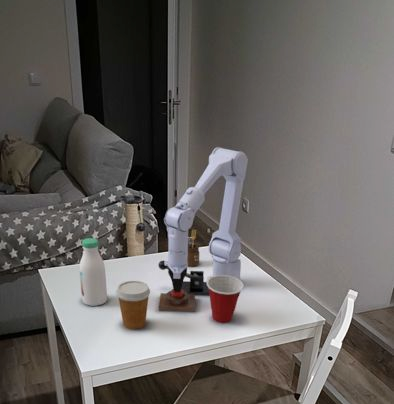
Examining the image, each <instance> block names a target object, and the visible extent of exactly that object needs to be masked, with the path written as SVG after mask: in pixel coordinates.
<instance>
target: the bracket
mask: <svg viewBox="0 0 394 404" xmlns="http://www.w3.org/2000/svg"><path fill="white" fill-rule="evenodd" d="M194 273H195V274H198V275H200V276H190V278H189V281H184V280H183V284H182V288H181V289H182V290H184V291H185V292H187V293H188V294H195V296H205V297H207V296H208V297H210V294H209V289H208V286H207V281H205V277H204V274H205V272H204V271H202V270H190V271H189V274H191V275H194Z"/></svg>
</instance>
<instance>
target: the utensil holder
mask: <svg viewBox="0 0 394 404" xmlns="http://www.w3.org/2000/svg"><path fill="white" fill-rule="evenodd" d="M190 236H191V237H190ZM190 236H188V239H190V240H188V257H187V262H188V266H187V267H197V266H198V265H199V263H200V251H199V250H200V248H199V245H198V244H196V243H194V242H195V239H196V238H197V237H196V236H197V230H196V229H192V230H191V235H190ZM191 241H192V242H191Z"/></svg>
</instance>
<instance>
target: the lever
mask: <svg viewBox="0 0 394 404" xmlns="http://www.w3.org/2000/svg"><path fill="white" fill-rule="evenodd" d="M165 261H166V260H160V261H159V262H158V265H157V266H158V268H159V270H162V271H165V270H168V269H169V267H168V266H165V265H164V262H165ZM190 276H200V275H198V274H195V273H194V275H191V274H190V273H188V272H187V274H186V276H185V278H188V279H190Z"/></svg>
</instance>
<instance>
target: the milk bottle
mask: <svg viewBox="0 0 394 404" xmlns="http://www.w3.org/2000/svg"><path fill="white" fill-rule="evenodd" d="M81 243H82V249H83V252H82V257H81V258H80V262H79V279H80V289H81V290H80V292H81V301H82V302H83V304H85V305H87V306H91V307H93V306H96V307H97V306H101V305H104V304H105V303H106V302H107V301H108V287H107V275H106V274H107V273H106V266H105V262H104V259H103V258H102V256H101V254H100V252H99V240H98V239H97V238H94V237H88V238H84V239H83V240H82V242H81Z"/></svg>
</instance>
